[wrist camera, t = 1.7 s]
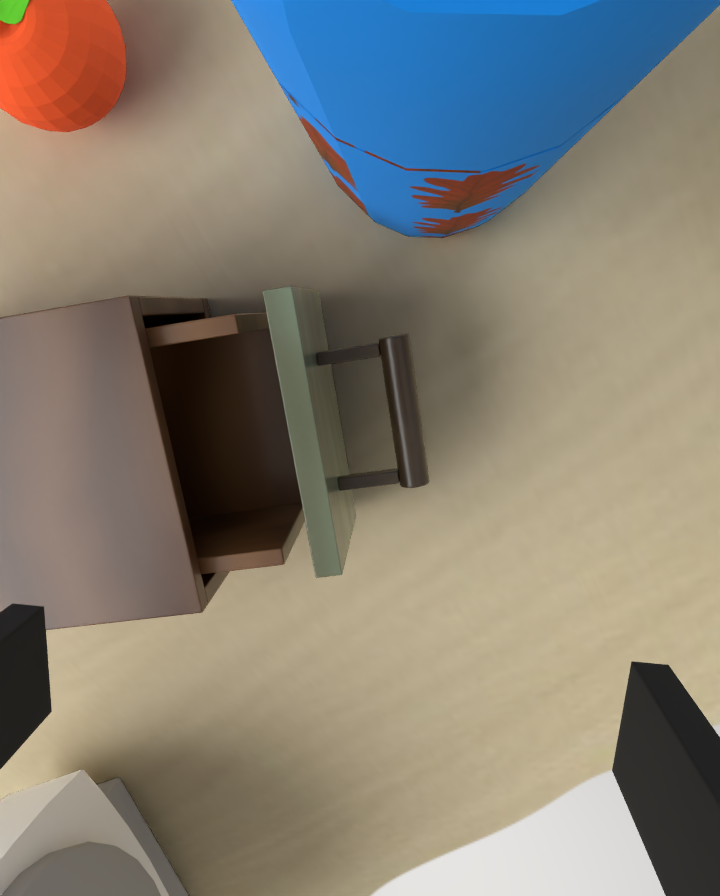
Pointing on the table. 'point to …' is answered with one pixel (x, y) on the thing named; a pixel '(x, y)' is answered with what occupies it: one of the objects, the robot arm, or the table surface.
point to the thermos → (456, 91)
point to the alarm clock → (80, 842)
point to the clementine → (60, 62)
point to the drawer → (274, 431)
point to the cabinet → (93, 468)
